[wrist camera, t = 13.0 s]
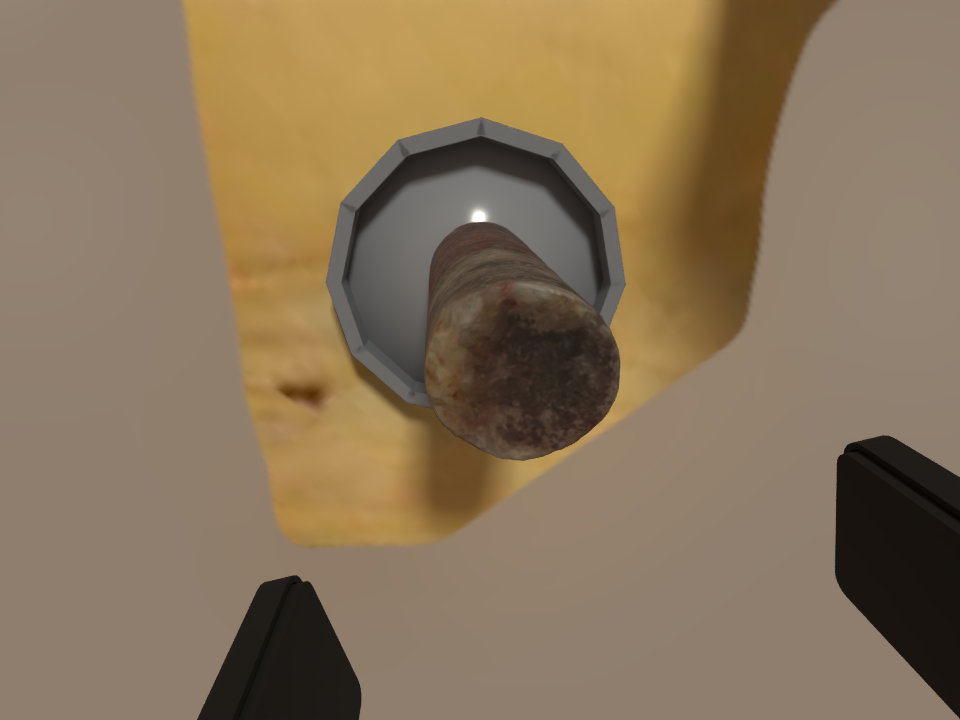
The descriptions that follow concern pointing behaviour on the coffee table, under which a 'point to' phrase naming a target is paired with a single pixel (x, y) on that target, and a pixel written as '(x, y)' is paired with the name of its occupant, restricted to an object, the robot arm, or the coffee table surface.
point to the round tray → (442, 208)
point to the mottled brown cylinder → (513, 347)
